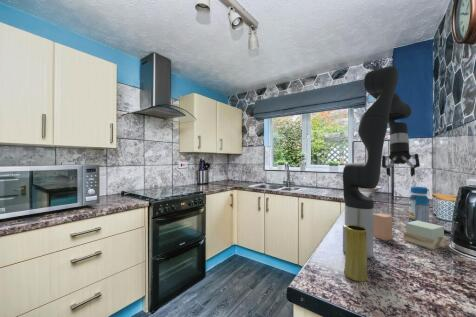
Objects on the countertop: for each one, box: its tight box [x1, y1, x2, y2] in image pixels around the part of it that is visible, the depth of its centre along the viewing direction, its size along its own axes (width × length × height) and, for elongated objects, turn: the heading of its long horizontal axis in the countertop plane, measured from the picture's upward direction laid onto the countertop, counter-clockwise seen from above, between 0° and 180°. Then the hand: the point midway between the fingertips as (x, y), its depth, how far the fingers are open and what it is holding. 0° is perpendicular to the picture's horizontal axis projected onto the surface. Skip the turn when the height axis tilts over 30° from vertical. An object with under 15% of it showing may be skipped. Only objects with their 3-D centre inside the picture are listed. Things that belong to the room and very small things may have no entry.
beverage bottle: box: [408, 186, 430, 223], centre depth 110 cm, size 8×8×20 cm
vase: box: [343, 225, 369, 282], centre depth 60 cm, size 6×6×14 cm
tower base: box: [403, 230, 447, 250], centre depth 85 cm, size 10×10×4 cm
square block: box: [373, 213, 393, 241], centre depth 90 cm, size 5×5×10 cm
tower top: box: [405, 220, 445, 240], centre depth 85 cm, size 9×9×4 cm
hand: (400, 176), depth 98 cm, fingers open, 8 cm apart
